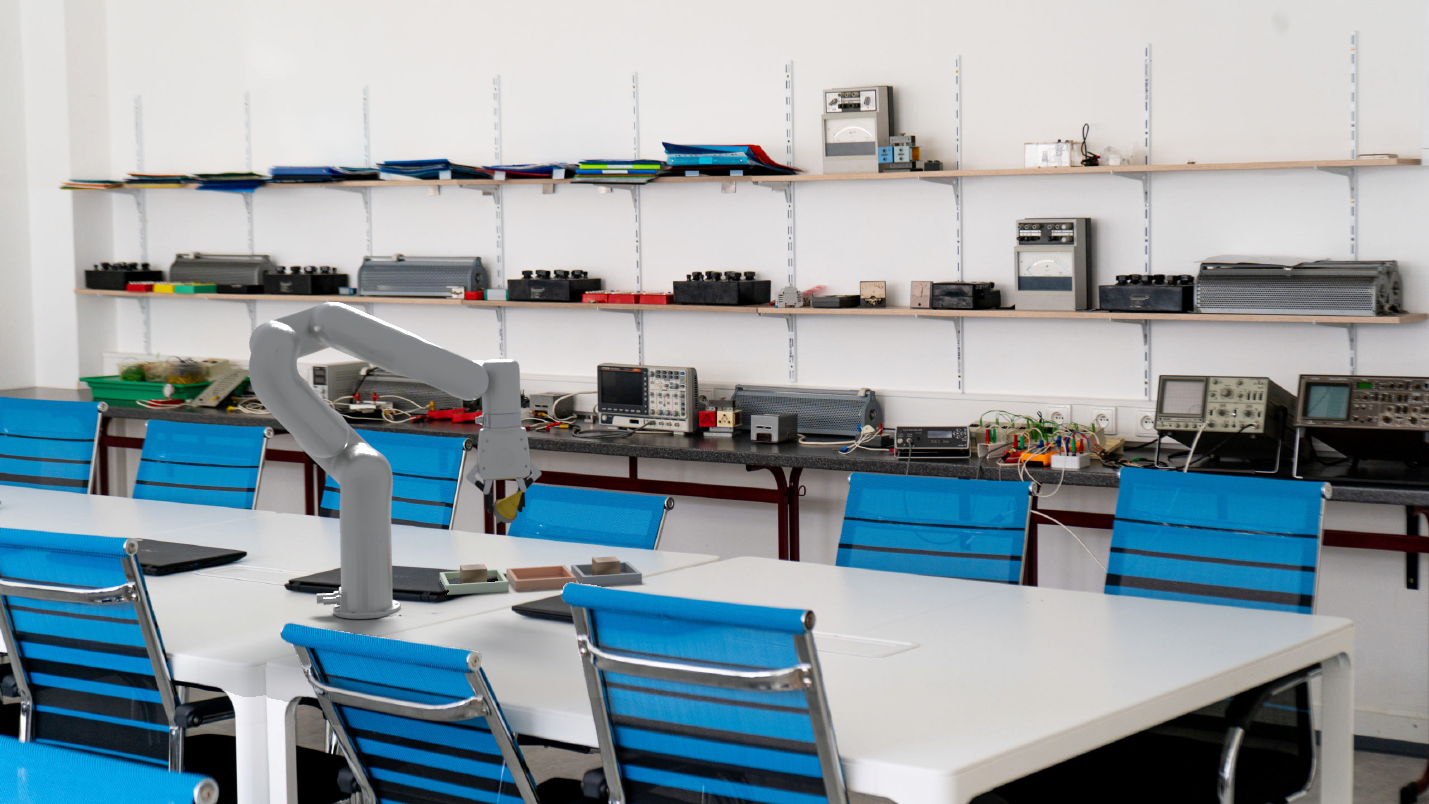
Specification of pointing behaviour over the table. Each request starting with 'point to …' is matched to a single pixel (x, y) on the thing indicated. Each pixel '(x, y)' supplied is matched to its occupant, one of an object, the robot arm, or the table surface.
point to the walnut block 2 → (605, 566)
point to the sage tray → (475, 587)
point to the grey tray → (626, 575)
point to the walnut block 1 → (473, 573)
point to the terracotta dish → (539, 577)
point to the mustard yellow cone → (507, 508)
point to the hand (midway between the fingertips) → (504, 511)
